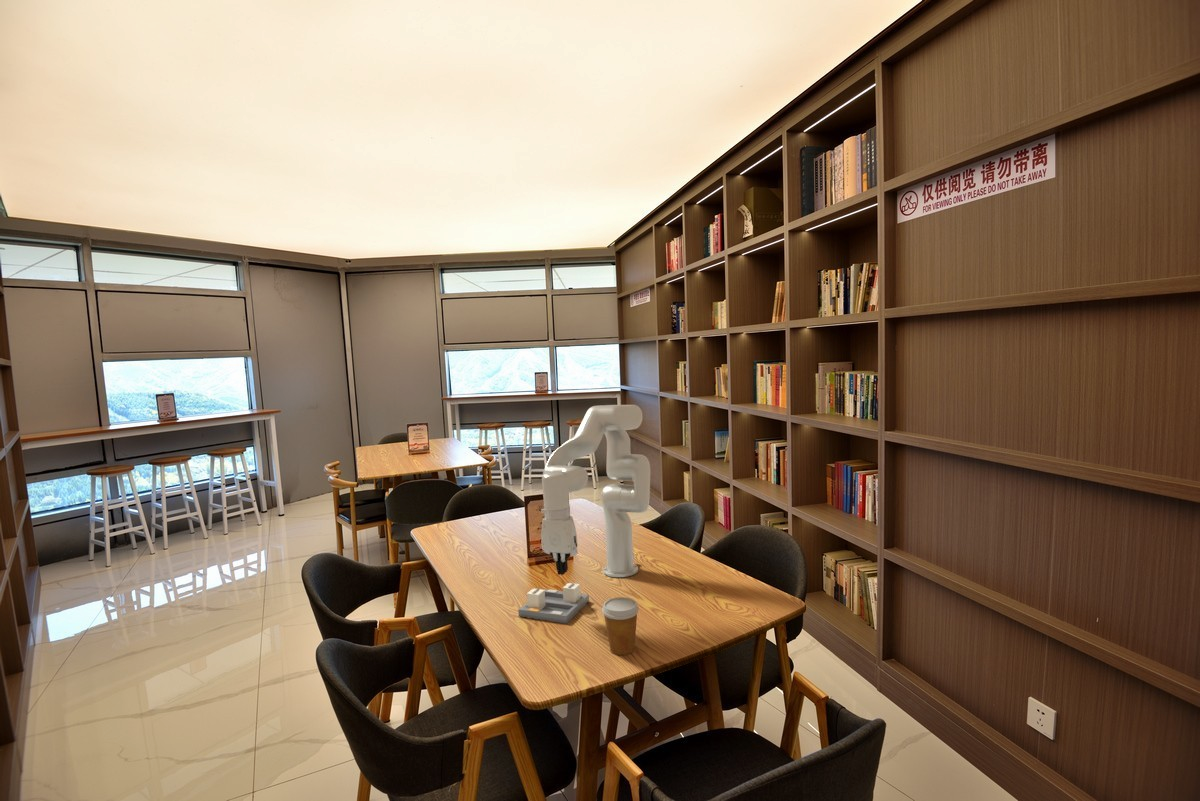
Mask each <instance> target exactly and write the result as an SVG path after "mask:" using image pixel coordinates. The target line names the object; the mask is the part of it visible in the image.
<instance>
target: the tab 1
mask: <svg viewBox="0 0 1200 801" xmlns="http://www.w3.org/2000/svg"><path fill="white" fill-rule="evenodd" d="M526 603H527V607H528V608H538V609H542V608H544V607H545V606H546V604H545V590H544V589H541V588H532V589H530V590H529V591H528V592H527V593H526Z"/></svg>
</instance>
